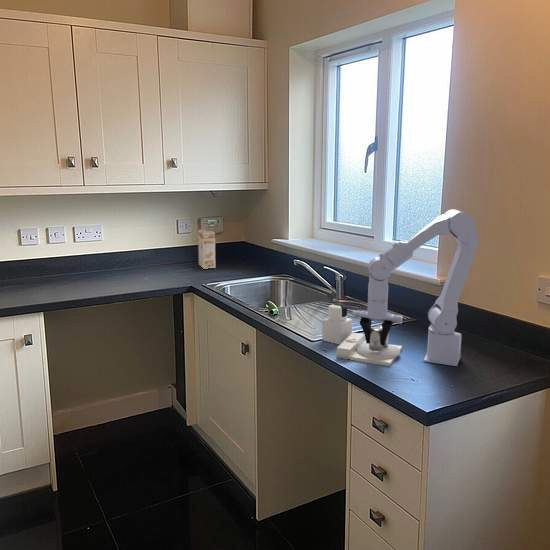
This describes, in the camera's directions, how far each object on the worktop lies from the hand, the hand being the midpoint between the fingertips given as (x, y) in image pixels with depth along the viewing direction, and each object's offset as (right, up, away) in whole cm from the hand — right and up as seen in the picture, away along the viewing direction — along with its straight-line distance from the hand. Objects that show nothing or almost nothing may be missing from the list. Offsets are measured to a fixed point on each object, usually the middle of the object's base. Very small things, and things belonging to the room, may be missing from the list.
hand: (375, 343), depth 166 cm
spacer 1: (0, -2, 0) cm, 2 cm away
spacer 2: (+3, -2, +7) cm, 8 cm away
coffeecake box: (-66, +24, +134) cm, 152 cm away
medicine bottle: (-10, -1, +17) cm, 20 cm away
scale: (-1, -4, +5) cm, 6 cm away
